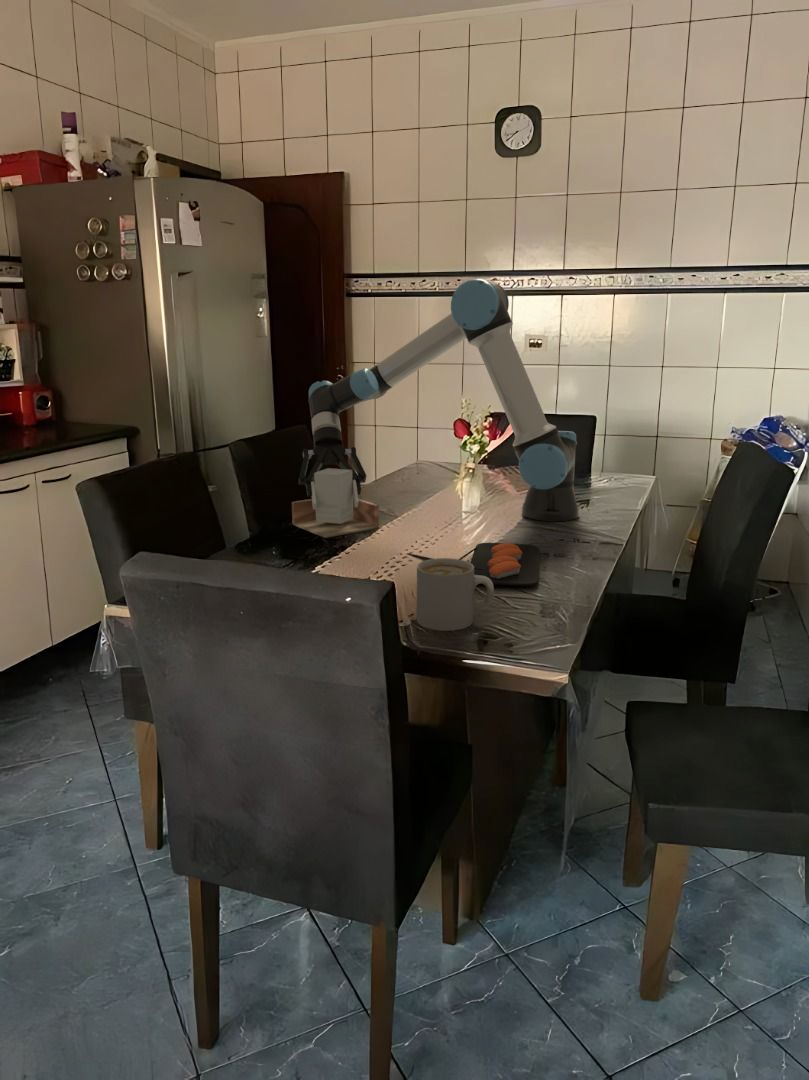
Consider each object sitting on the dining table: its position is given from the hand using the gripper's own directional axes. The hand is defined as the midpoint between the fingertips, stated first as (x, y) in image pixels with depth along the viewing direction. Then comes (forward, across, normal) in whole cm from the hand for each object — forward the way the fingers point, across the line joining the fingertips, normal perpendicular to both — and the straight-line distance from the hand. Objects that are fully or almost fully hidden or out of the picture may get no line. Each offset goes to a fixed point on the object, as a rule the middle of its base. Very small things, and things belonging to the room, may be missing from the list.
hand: (335, 505), depth 200 cm
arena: (+2, 0, -7) cm, 7 cm away
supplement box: (+1, 0, -6) cm, 6 cm away
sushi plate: (+30, -24, +20) cm, 43 cm away
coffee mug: (+52, -13, +42) cm, 68 cm away
